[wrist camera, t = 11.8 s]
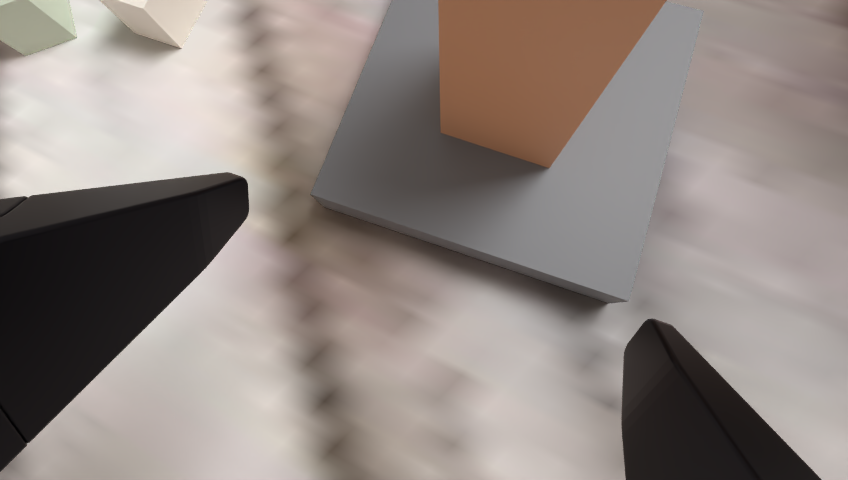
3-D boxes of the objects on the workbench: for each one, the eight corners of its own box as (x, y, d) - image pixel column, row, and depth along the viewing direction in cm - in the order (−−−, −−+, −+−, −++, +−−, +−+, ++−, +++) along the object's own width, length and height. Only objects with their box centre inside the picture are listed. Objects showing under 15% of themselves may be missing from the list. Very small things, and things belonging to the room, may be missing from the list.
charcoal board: (608, 303, 18) (629, 301, 16) (323, 207, 19) (310, 194, 17) (678, 40, 20) (703, 10, 18) (419, -27, 22) (417, -61, 20)
